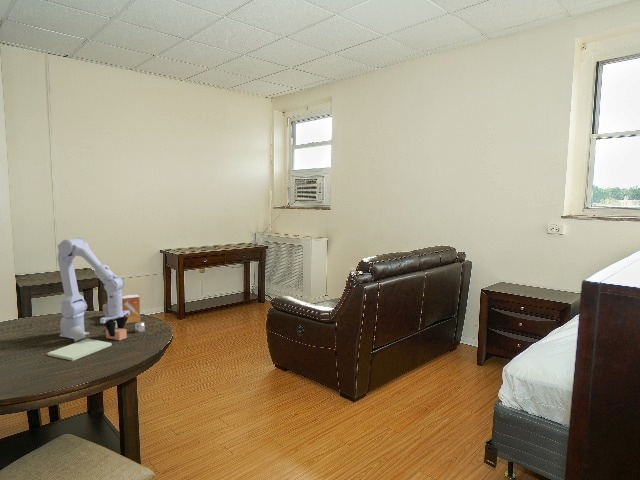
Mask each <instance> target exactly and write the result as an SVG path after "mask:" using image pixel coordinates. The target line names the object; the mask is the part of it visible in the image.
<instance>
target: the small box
mask: <svg viewBox="0 0 640 480" xmlns="http://www.w3.org/2000/svg"><path fill="white" fill-rule="evenodd" d="M140 302H141V297H140V295H138V294H137V293H136V294H128V295H122V311H126V310H128V311H130V315H126V316H125V317H128V319H127V321H126V323H125V324H129V323H131V324H132V323H137V322H141V307H140V306H141V303H140Z"/></svg>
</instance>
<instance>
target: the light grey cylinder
mask: <svg viewBox="0 0 640 480" xmlns="http://www.w3.org/2000/svg"><path fill="white" fill-rule="evenodd" d="M134 325H135V326H134V328H135V333H136V334H137V333H144V332H145V331H146V329H145V327H146V324H145V321H140V322H134Z"/></svg>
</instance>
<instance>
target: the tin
mask: <svg viewBox="0 0 640 480" xmlns="http://www.w3.org/2000/svg"><path fill="white" fill-rule="evenodd" d="M101 308H102V314H103V315H104V316H103V317H105V316H107V315H108V301H105V302H104V303H102V306H101ZM113 321H116V319H114V320H113Z"/></svg>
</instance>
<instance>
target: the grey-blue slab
mask: <svg viewBox="0 0 640 480" xmlns="http://www.w3.org/2000/svg"><path fill="white" fill-rule="evenodd" d="M69 332H70V334H71V335H72V337H73V339H72V340H74V343H77V342H79V341H82V340H85V339H86V338H87V335H85V334H84V333H83V331H82V329H81V327H80V326H76V327H73V328H71V329H70V330H69Z"/></svg>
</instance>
